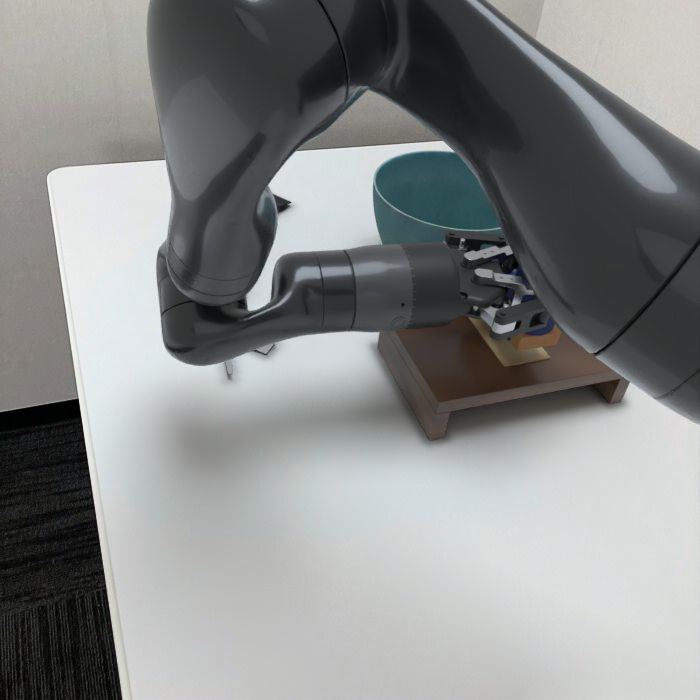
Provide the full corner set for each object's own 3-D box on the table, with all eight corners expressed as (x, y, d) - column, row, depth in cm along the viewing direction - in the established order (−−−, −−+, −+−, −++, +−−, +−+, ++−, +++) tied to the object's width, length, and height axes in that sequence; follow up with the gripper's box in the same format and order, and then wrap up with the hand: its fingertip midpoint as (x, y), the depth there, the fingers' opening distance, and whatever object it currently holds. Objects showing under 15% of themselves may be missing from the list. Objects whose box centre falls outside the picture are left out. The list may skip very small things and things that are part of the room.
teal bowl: (403, 335, 85) (421, 240, 77) (338, 247, 97) (347, 157, 89) (538, 306, 92) (567, 216, 84) (461, 227, 104) (480, 142, 96)
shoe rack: (621, 401, 80) (648, 342, 75) (429, 440, 73) (444, 378, 68) (551, 319, 90) (571, 262, 85) (376, 347, 83) (386, 287, 78)
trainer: (558, 344, 74) (594, 247, 67) (515, 351, 73) (546, 253, 66) (511, 287, 81) (539, 194, 74) (470, 293, 79) (495, 197, 72)
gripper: (429, 302, 60) (621, 288, 64) (377, 207, 70) (546, 200, 74) (413, 374, 64) (593, 356, 69) (367, 275, 75) (526, 265, 79)
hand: (568, 275), depth 72 cm, fingers closed on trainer, 5 cm apart
